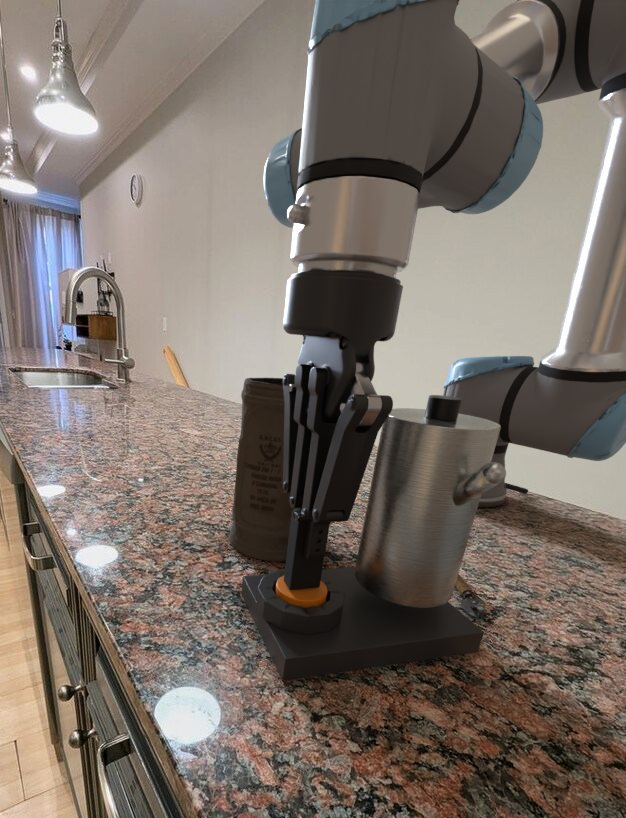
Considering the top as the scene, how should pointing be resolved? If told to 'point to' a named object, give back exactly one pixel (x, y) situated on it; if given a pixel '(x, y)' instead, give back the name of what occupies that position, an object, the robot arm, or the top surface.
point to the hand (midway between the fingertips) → (301, 583)
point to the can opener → (469, 599)
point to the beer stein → (261, 474)
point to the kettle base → (351, 628)
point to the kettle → (425, 501)
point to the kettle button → (301, 594)
